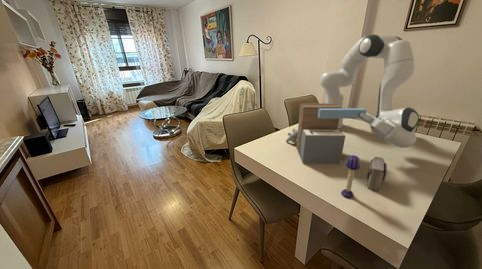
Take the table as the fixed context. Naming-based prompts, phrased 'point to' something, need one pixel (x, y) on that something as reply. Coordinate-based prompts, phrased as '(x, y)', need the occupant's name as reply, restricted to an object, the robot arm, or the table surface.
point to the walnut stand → (315, 119)
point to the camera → (376, 173)
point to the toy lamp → (350, 175)
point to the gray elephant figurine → (293, 136)
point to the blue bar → (340, 112)
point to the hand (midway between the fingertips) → (357, 112)
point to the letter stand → (321, 146)
